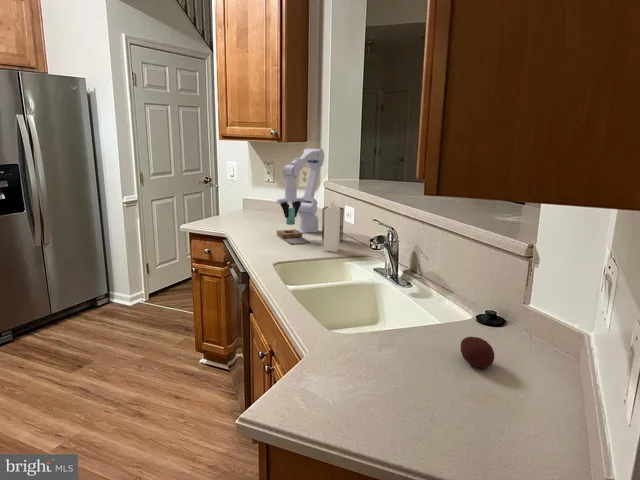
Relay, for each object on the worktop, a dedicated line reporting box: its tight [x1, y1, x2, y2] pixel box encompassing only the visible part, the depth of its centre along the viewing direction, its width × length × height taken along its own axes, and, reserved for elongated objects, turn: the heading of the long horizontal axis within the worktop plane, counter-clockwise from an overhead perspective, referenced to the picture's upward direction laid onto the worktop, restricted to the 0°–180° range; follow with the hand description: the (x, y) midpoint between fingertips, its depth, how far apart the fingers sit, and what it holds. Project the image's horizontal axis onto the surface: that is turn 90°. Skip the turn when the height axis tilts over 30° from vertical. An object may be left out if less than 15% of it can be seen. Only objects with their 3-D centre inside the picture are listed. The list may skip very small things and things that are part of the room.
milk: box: [323, 201, 340, 253], centre depth 207 cm, size 6×6×22 cm
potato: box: [459, 336, 495, 369], centre depth 109 cm, size 7×10×6 cm
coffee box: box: [321, 206, 345, 242], centre depth 227 cm, size 9×6×16 cm
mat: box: [283, 237, 311, 246], centre depth 224 cm, size 10×10×1 cm
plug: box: [285, 206, 296, 226], centre depth 229 cm, size 4×4×8 cm
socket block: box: [276, 229, 303, 241], centre depth 233 cm, size 10×10×2 cm
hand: (290, 217), depth 229 cm, fingers closed on plug, 4 cm apart
